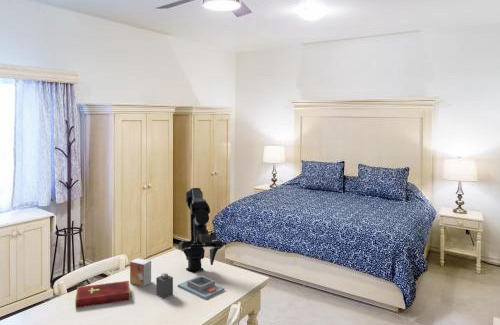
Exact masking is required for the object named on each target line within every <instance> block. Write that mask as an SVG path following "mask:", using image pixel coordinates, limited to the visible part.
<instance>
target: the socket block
mask: <svg viewBox="0 0 500 325" xmlns="http://www.w3.org/2000/svg"><path fill="white" fill-rule="evenodd" d="M177 287H178V288H180V289H182V290H184V291H186V292H188V293H190V294H193V295H195V296H197V297H199V298H201V299H204V300H208V299H209V298H212V297H213V296H216V295H218V294H219V293H221V292H224V291H225V287H223V286H221V285H220V284H219V285H218V284H216V281H215V280H214V279H211V278H209V277H207V276H205V275H200V276H195V277H193V278H191V279H188V280H185V281H183V282H181V283H179V284H177Z"/></svg>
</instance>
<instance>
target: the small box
mask: <svg viewBox="0 0 500 325" xmlns="http://www.w3.org/2000/svg"><path fill="white" fill-rule="evenodd" d="M129 264H130V266H129V268H130V271H129V284H133V285H137V286H141V287H146V286H147V285H148V284H150V283H151V282H152V260H149V259H143V258H141V257H140V258H139V257H137V258H135V259H134V260H131V261H130V262H129Z"/></svg>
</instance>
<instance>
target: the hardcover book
mask: <svg viewBox="0 0 500 325" xmlns="http://www.w3.org/2000/svg"><path fill="white" fill-rule="evenodd" d="M130 288H131V287H130V280H124V281H123V280H122V281H117V282H116V281H115V282H109V283H99V284H93V285H92V284H91V285H83V286H77V288H76V294H75V299H74V300H75V303H74V304H75V308H77V309H78V307H79V308H83V307H84V308H85V306H86V307H92V305H93V306H98V305H105V304H113V303H114V304H115V303H119V302H127V301H131V289H130Z"/></svg>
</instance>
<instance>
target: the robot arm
mask: <svg viewBox="0 0 500 325" xmlns="http://www.w3.org/2000/svg"><path fill="white" fill-rule="evenodd" d="M203 196H204V194H203V191H202V190H201V187H191V188H190V189H189V190H188V191H186V192H185V203H186V206H187V208H188V209H189V219H190V220H189V221H190V227H189V229H190V239H189V240H183V241H182V240H181V241H180V242H179V243H178V245H177V246H178V247H177V248H178V249H177V250H180V251H181V252H183V253H184V255H185V258H186V261H187V265H188V266H187V267H186V268H185V270H186V271H188V272H190V273H193V274H195V273H197V272H200V271H202V270H204V268H203V267H202V260H203V259H204V258H205V252H206V251H205V248H210V249H209V262H210V266H212V265H214V261H215V257H216V255H217V252H218V251H219V250H221V248H224V242H223V241H222V240H217V232H216V231H211V232H210V233H209V230H208V228H207V227H208V226H207V224H208V222H209V220H210V215H209V214H210V213H211V209H210V208H211V206H210V205H209V203H208V202H207V200H206V199H204V197H203Z"/></svg>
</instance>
